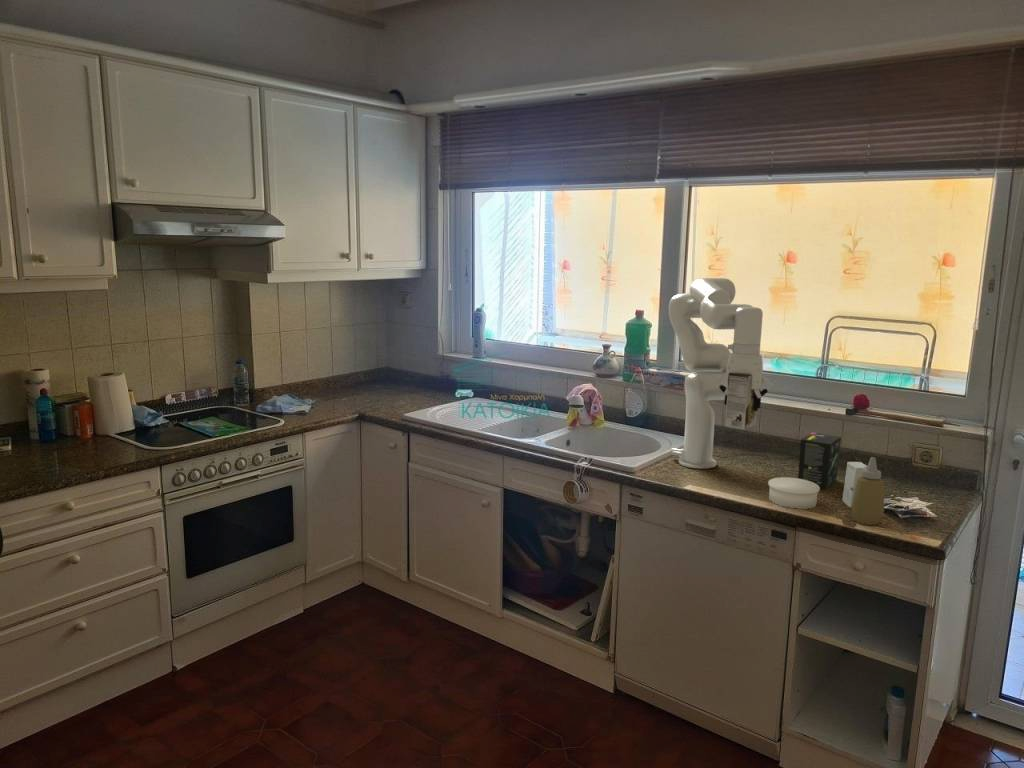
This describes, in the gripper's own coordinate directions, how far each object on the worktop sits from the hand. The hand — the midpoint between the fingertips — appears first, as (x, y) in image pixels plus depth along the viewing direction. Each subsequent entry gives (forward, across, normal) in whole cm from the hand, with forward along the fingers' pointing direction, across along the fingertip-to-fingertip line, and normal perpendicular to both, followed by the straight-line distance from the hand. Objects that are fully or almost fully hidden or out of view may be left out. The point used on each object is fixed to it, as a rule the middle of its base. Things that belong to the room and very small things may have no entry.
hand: (742, 408), depth 220 cm
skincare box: (+26, +32, +4) cm, 42 cm away
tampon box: (+26, +22, +22) cm, 40 cm away
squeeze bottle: (+26, +36, -10) cm, 45 cm away
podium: (+26, +16, -1) cm, 30 cm away
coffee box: (+5, 0, 0) cm, 5 cm away
